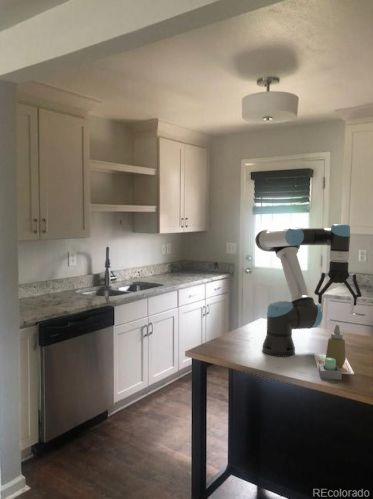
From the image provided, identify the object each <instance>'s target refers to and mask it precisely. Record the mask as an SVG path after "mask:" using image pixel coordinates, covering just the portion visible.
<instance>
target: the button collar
mask: <svg viewBox="0 0 373 499" xmlns="http://www.w3.org/2000/svg"><path fill="white" fill-rule="evenodd" d="M324 369H325V364H319V368H317V370H319V371H318V374H319V377H320V379H328V380H329V379H330V380H340V381H342V379H343V377H342V376H343V374H342V372H341V369H340V367H339V365H336V368H335V371H334V370H324Z"/></svg>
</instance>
